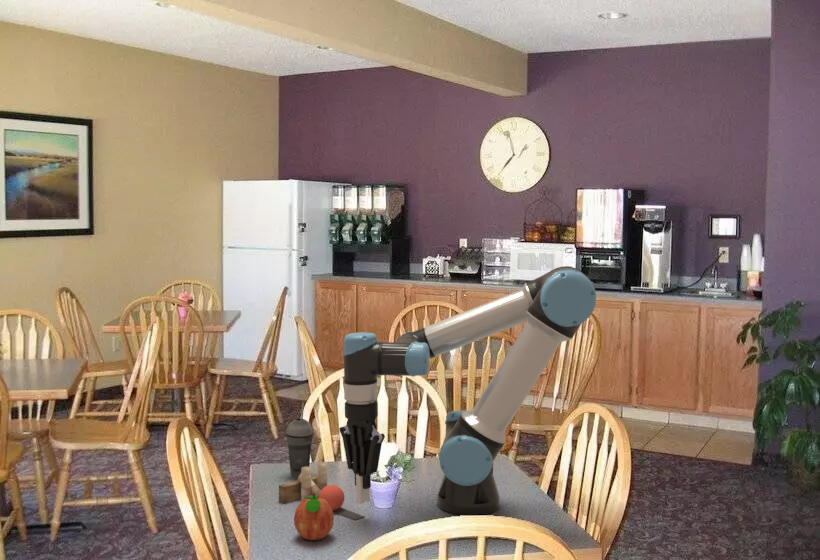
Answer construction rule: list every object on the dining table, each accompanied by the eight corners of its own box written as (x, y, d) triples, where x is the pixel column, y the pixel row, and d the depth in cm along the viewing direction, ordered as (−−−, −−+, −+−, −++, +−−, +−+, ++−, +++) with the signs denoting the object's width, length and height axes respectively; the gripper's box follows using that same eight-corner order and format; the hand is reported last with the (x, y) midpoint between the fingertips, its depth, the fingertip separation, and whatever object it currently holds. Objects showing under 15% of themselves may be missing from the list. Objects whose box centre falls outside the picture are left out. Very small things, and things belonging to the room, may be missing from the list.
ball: (334, 483, 218) (343, 506, 217) (312, 492, 216) (321, 516, 214) (342, 479, 213) (351, 503, 212) (319, 488, 210) (329, 512, 209)
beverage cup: (298, 470, 244) (299, 398, 242) (319, 476, 240) (319, 402, 238) (279, 477, 238) (280, 403, 237) (300, 482, 234) (300, 407, 232)
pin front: (329, 497, 218) (307, 472, 223) (323, 497, 216) (301, 472, 221) (323, 504, 218) (302, 479, 223) (317, 505, 216) (296, 479, 221)
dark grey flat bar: (364, 517, 210) (364, 516, 210) (355, 520, 207) (355, 519, 207) (335, 506, 216) (335, 505, 216) (326, 509, 214) (326, 508, 214)
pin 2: (328, 498, 222) (328, 463, 221) (323, 501, 220) (324, 465, 219) (320, 497, 223) (320, 461, 222) (315, 500, 221) (315, 464, 220)
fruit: (334, 530, 201) (335, 486, 200) (332, 546, 192) (332, 500, 191) (296, 530, 201) (296, 486, 200) (291, 546, 192) (291, 500, 191)
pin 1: (313, 503, 218) (313, 467, 218) (308, 506, 216) (308, 469, 215) (304, 502, 219) (304, 465, 219) (299, 505, 217) (299, 468, 216)
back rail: (316, 490, 228) (316, 475, 228) (321, 492, 227) (321, 476, 226) (278, 501, 220) (278, 485, 219) (283, 503, 218) (283, 487, 218)
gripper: (392, 401, 204) (394, 503, 206) (353, 394, 213) (355, 491, 215) (368, 407, 199) (370, 512, 201) (329, 399, 208) (332, 499, 210)
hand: (363, 501), depth 208 cm, fingers closed
